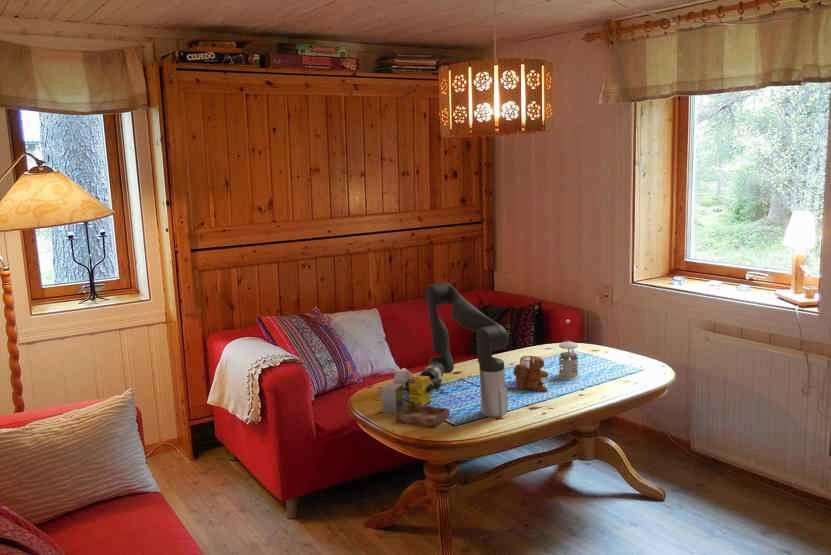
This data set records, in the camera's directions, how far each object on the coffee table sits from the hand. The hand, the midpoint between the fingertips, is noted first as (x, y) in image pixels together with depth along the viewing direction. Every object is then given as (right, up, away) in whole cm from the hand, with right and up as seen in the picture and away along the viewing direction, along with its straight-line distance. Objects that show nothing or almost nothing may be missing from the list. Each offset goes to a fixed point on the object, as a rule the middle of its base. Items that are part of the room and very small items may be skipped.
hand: (417, 389), depth 271 cm
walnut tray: (+2, -9, -9) cm, 13 cm away
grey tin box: (-9, -8, +1) cm, 13 cm away
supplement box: (+1, -6, +3) cm, 7 cm away
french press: (+65, +1, +32) cm, 72 cm away
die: (-6, -4, +28) cm, 29 cm away
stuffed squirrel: (+47, -2, +19) cm, 50 cm away
